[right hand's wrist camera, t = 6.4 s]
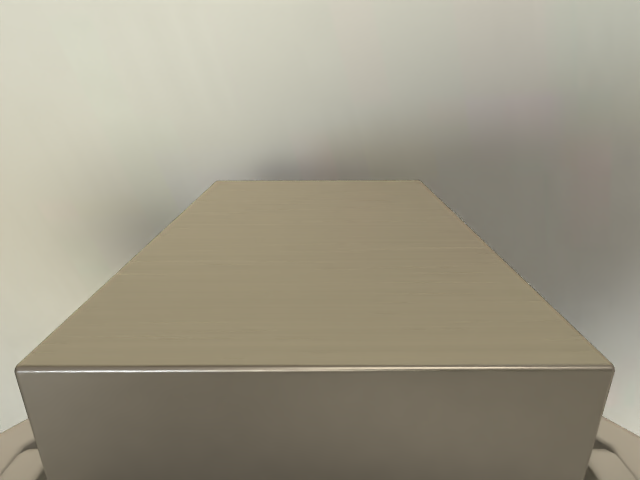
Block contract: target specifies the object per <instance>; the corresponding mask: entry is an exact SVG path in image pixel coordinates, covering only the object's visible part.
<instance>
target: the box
mask: <svg viewBox="0 0 640 480" xmlns="http://www.w3.org/2000/svg"><path fill="white" fill-rule="evenodd" d="M614 372H615V369H614V366H613V364H612V363H611V362H610V361H609V360H608V359H607V358H606V357H605V356H603V355H602V354H601V353H600V352H599V351H598V350H597V349H596V348H595V347H594V346H593V345H592V344H591V343H590V342H589V341H588V340H587V339H586V338H585V337H584V336H583V335H581V334H580V333H579V332H578V331H577V330H576V329H575V328H574V327H573V326H572V325H571V324H570V323H569V322H568V321H567V320H566V319H565V318H564V317H563V316H562V315H560V314H559V313H558V312H557V311H556V310H555V309H554V308H553V307H552V306H551V305H550V304H549V303H548V302H547V301H546V300H545V299H544V298H543V297H542V296H541V295H540V294H538V293H537V292H536V291H535V290H534V289H533V288H532V287H531V286H530V285H529V284H528V283H527V282H526V281H525V280H524V279H523V278H522V277H521V276H520V275H519V274H518V273H516V272H515V271H514V270H513V269H512V268H511V267H510V266H509V265H508V264H507V263H506V262H505V261H504V260H503V259H502V258H501V257H500V256H499V255H498V254H497V253H496V252H494V251H493V250H492V249H491V248H490V247H489V246H488V245H487V244H486V243H485V242H484V241H483V240H482V239H481V238H480V237H479V236H478V235H477V234H476V233H475V232H473V231H472V230H471V229H470V228H469V227H468V226H467V225H466V224H465V223H464V222H463V221H462V220H461V219H460V218H459V217H458V216H457V215H456V214H455V213H454V212H453V211H451V210H450V209H449V208H448V207H447V206H446V205H445V204H444V203H443V202H442V201H441V200H440V199H439V198H438V197H437V196H436V195H435V194H434V193H433V192H432V191H431V190H429V189H428V188H427V187H426V186H425V185H424V184H423V183H422V182H421V181H420V180H306V181H216V182H215V183H214V184H213V185H212V186H210V187H209V188H208V189H207V190H206V191H205V192H204V193H203V194H202V195H201V196H200V197H199V198H197V199H196V200H195V201H194V202H193V203H192V204H191V205H190V206H189V207H188V208H187V209H186V210H184V211H183V212H182V213H181V214H180V215H179V216H178V217H177V218H176V219H175V220H174V221H173V222H171V223H170V224H169V225H168V226H167V227H166V228H165V229H164V230H163V231H162V232H161V233H160V234H158V235H157V236H156V237H155V238H154V239H153V240H152V241H151V242H150V243H149V244H148V245H147V246H145V247H144V248H143V249H142V250H141V251H140V252H139V253H138V254H137V255H136V256H135V257H134V258H132V259H131V260H130V261H129V262H128V263H127V264H126V265H125V266H124V267H123V268H122V269H121V270H119V271H118V272H117V273H116V274H115V275H114V276H113V277H112V278H111V279H110V280H109V281H108V282H106V283H105V284H104V285H103V286H102V287H101V288H100V289H99V290H98V291H97V292H96V293H95V294H93V295H92V296H91V297H90V298H89V299H88V300H87V301H86V302H85V303H84V304H83V305H82V306H80V307H79V308H78V309H77V310H76V311H75V312H74V313H73V314H72V315H71V316H70V317H69V318H67V319H66V320H65V321H64V322H63V323H62V324H61V325H60V326H59V327H58V328H57V329H56V330H54V331H53V332H52V333H51V334H50V335H49V336H48V337H47V338H46V339H45V340H44V341H43V342H41V343H40V344H39V345H38V346H37V347H36V348H35V349H34V350H33V351H32V352H31V353H30V354H28V355H27V356H26V357H25V358H24V359H23V360H22V361H21V362H20V363H19V364H18V365H17V366H16V368H15V375H16V379H17V382H18V385H19V389H20V392H21V395H22V399H23V402H24V405H25V408H26V412H27V415H28V418H29V422H30V425H31V428H32V432H33V435H34V438H35V442H36V445H37V448H38V452H39V455H40V458H41V462H42V465H43V468H44V472H45V475H46V478H47V480H584V477H585V474H586V470H587V467H588V463H589V460H590V456H591V453H592V449H593V446H594V442H595V439H596V435H597V432H598V428H599V425H600V421H601V418H602V414H603V411H604V407H605V404H606V400H607V397H608V393H609V390H610V386H611V382H612V379H613V375H614Z"/></svg>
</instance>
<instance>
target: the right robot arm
mask: <svg viewBox="0 0 640 480" xmlns="http://www.w3.org/2000/svg"><path fill="white" fill-rule="evenodd" d="M0 480H47V478H46V475H45V472H44V468H43V465H42V462H41V458H40V455H39V452H38V448H37V445H36V442H35V438H34V435H33V432H32V428H31V425H30V422H29V418H28V419H26V420H25V421H23V422H21V423H19V424H17V425H15V426H13V427H12V428H10V429H8V430H6V431H4V432H2V433H0ZM584 480H640V437H639V436H638V435H636V434H634V433H632V432H630V431H628V430H627V429H625V428H623V427H621V426H619V425H617V424H616V423H614V422H612V421H610V420H608V419H606V418H605V417H603V416H602V418H601V421H600V425H599V428H598V432H597V435H596V439H595V442H594V446H593V449H592V453H591V456H590V460H589V463H588V467H587V470H586V474H585V477H584Z"/></svg>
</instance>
